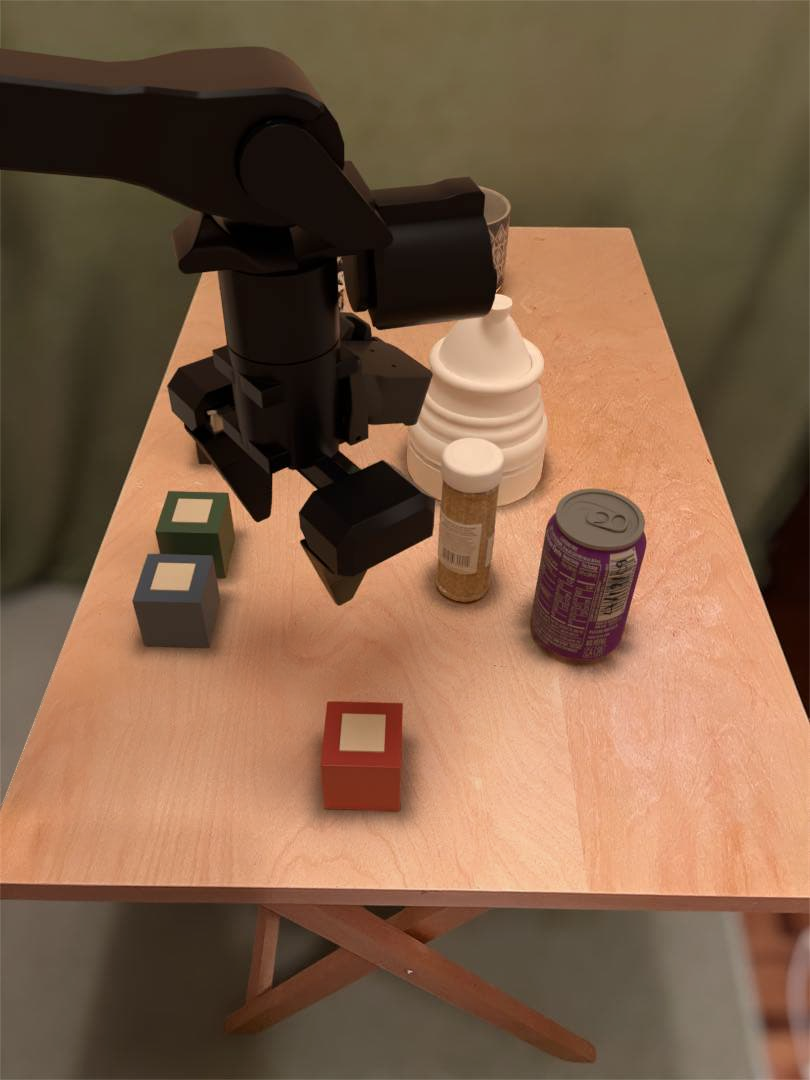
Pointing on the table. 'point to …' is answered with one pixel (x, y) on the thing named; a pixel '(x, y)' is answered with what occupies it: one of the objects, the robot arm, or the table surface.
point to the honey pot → (483, 402)
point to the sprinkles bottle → (468, 517)
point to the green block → (197, 526)
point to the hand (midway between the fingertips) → (301, 558)
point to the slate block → (177, 600)
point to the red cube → (362, 755)
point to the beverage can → (588, 573)
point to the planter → (497, 228)
